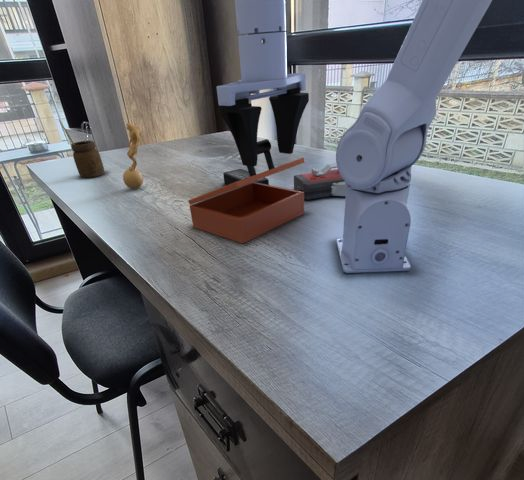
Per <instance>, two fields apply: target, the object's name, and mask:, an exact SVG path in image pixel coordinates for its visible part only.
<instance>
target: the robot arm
mask: <svg viewBox="0 0 524 480" xmlns="http://www.w3.org/2000/svg"><path fill="white" fill-rule="evenodd" d="M492 2H493V0H421V2H420V5H419V7H418V9H417V11H416V13H415V16H414V17H413V20H412V22H411V25H410V26H409V29H408V31H407V33H406V36H405V37H404V39H403V42H402V44H401V46H400V49H399V51H398V53H397V55H396V56H395V57H396V58H395V60H394V62H393V63H392V65H391V68H390V70H389V72H388V74H387V76H386V79H385V81H384V82H383V83H382V84H381V85H380V86H379V87H378V88H377V90H376V91H375V92H374V93H373V94H372V95H371V96H370V97H369V98H368V99H367V101H366V102H365V103H364V105H363V106H362V108H361V109H360V110H361V111H360V113H359V115H358V117H357V119H356V120H355V121H354V123H353V124H352V125H351V126H350V127H348V128H347V129H346V130H345V131H344V132H343V134H342V135H341V137H340V138H339V141H338V142H337V146H336V150H335V163H337V168H336V169H338V171H339V173H340V175H341V177H342V178H343V179H344V181H345V188H346V196H345V200H344V214H343V230H342V237H339V238H337V239H336V240H335V243H336V247H337V251H338V255H339V259H340V263H341V268H342V271H343V273H346V274H352V273H353V274H355V273H380V272H383V273H384V272H407V271H408V272H409V271H410V270H411V268H412V266H411V263H410V261H409V260H408V258H407V256H406V251H407V245H408V240H409V234H410V228H411V223H412V220H411V219H412V218H411V213H410V210H409V207H408V205H407V204H408V200H409V199H408V198H409V193H410V186H411V181H412V167H413V166H414V165H415V164H416V163H417V162H418V161H419V160H420V159H421V157H422V156H423V153H424V151H425V148H426V145H427V138H428V132H429V129H430V126H431V124H432V122H433V120H434V119H435V117H436V115H437V98H438V96H439V94H440V93H441V91H442V90H443V87H444V86H445V84H446V82H447V80H448V79H449V77H450V75H451V74H452V72H453V70H454V68H455V67H456V65H457V63H458V61H459V59H460V58H461V56H462V54H463V52H464V51H465V49H466V47H467V46H468V44H469V42H470V40H471V38H472V36H473V35H474V33H475V31H476V30H477V28H478V26H479V24H480V23H481V22H482V19H483V17H484V16H485V14H486V12H487V10H489V7H490V5H491V3H492ZM234 5H235V6H234V9H235V18H236V19H235V20H236V28H237V29H236V31H237V32H236V33H237V35H238V36H237V43H238V53H239V62H240V63H239V67H240V76H241V77H240V78H241V79H238V80H237V81H234V82H231V83H227V84H222V85H217V86H216V94H217V103H218V110H219V115H220V116H221V118H222V119H223V121H224V122H225V124H226V125H227V128H228V129H229V131H230V133H231V135H232V137H233V140H234V143H235V145H236V147H237V151H238V153H239V157H240V160H241V163H242V166H245V167H247V166H251V167H254V168H255V167H256V166H258V155H257V142H258V132H259V124H260V117H261V113H262V106H260V105H259V106H257V105H252V103H251V101H254V100H259V99H265V98H268V100H269V103H270V106H271V110H272V113H273V118H274V122H275V128H276V129H275V131H276V139H277V140H276V141H277V142H276V143H277V148H278V153H279V154H286V155H291V154H293V153H294V148H295V144H296V139H297V134H298V130H299V127H300V126H299V125H300V122H301V119H302V117H303V114H304V112H305V109H306V107H307V105H308V104H309V101H310V93H309V92H305V91H306V90H307V73H306V72H294V73H288V61H287V60H288V59H287V32H286V31H287V19H286V18H287V17H286V0H234ZM263 90H268V91H264V92H260V91H263Z"/></svg>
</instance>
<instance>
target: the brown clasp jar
mask: <svg viewBox="0 0 524 480" xmlns="http://www.w3.org/2000/svg"><path fill="white" fill-rule="evenodd" d="M58 122H59V123H60V125H61V127H62V128H63V131H64V132H65V133H66V135H67V137H68V139H69V140H70V142H71V143H72V144H70V145H71V150H72V151H73V153H72V156H73V161H74V163H75V166H76V169H77V172H78V175H79V177H80V178H81V179H82V178H83V179H91V178H97V177H100V176H103V175H104V174H105V168H104V164H103V161H102V157H101V154H100V152H99V150H97V148H96V147H97V146H96V144H95V141H93V138H94V137H90V140H89V136H86V137H87V140H86V137H85V132H84V130H83V129H84V124H85V126H89V130H90V136H93V134H94V132H93V130H92V128H93V126H92V125H91V124H90V122H88V121H83V122H82V124H81V128H80V129H81V130H80V131H81V132H82V134H81V136H82V138H83V140H81V141H76V142H74V141H73V139H72V138H71V136H70V134H69V133H68V130H67V129H66V128H65V126H64V125H63V122H62V121H61V120H60V119H58ZM87 124H88V125H87ZM85 130H86V133H89V131H88V128H85Z"/></svg>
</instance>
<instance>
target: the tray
mask: <svg viewBox="0 0 524 480" xmlns="http://www.w3.org/2000/svg"><path fill="white" fill-rule="evenodd" d="M189 210H190V211H189V212H190V216H191V222H192V226H193V228H195V229H197V230H201V231H203V232H206V233H209V234H213V235H216V236H219V237H221V238H225V239H228V240H230V241H233V242H236V243H239V244H245V243H248V242H249V241H251V240H253V239H255V238H258V237H260V236H262V235H264V234H266V233H267V232H270V231H272V230H274V229H275V228H276V229H277V228H278V227H280V226H282V225H284V224H285V223H288V222H290V221H292V220H294V219H296V218H298V217H300V216H302V215H304V214H305V199H304V192H301V191H296V190H294V189H290V188H286V187H280V186H276V185H271V184H269V185H266V184H261V183H256V182H251V183H248V184H246V185H243V186H240V187H238V188H235V189H232V190H229V191H227V192H224V193H221V194H219V195H216V196H213V197H210V198H208V199H205V200H202V201H200V202H197V203H194V204H191V205H190V204H189Z"/></svg>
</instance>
